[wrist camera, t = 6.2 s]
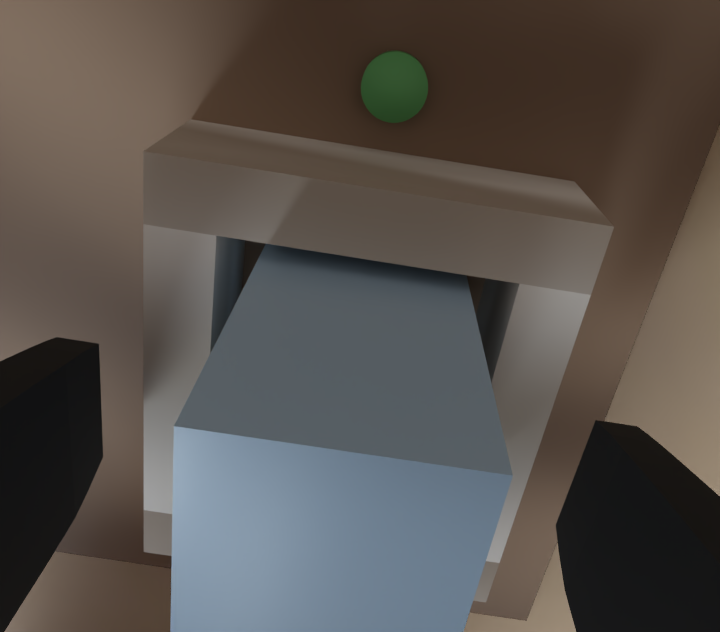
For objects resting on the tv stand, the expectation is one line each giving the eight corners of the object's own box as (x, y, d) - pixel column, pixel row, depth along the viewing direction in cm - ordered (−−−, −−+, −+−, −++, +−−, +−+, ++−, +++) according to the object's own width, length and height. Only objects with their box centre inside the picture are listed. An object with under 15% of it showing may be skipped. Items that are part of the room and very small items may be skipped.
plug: (415, 429, 13) (427, 743, 8) (263, 407, 13) (169, 707, 8) (458, 238, 11) (512, 476, 6) (281, 211, 11) (172, 426, 6)
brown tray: (521, 598, 16) (545, 715, 13) (-413, 460, 15) (-571, 554, 13) (746, 1, 10) (863, 9, 7) (-761, -252, 9) (-1177, -335, 7)
